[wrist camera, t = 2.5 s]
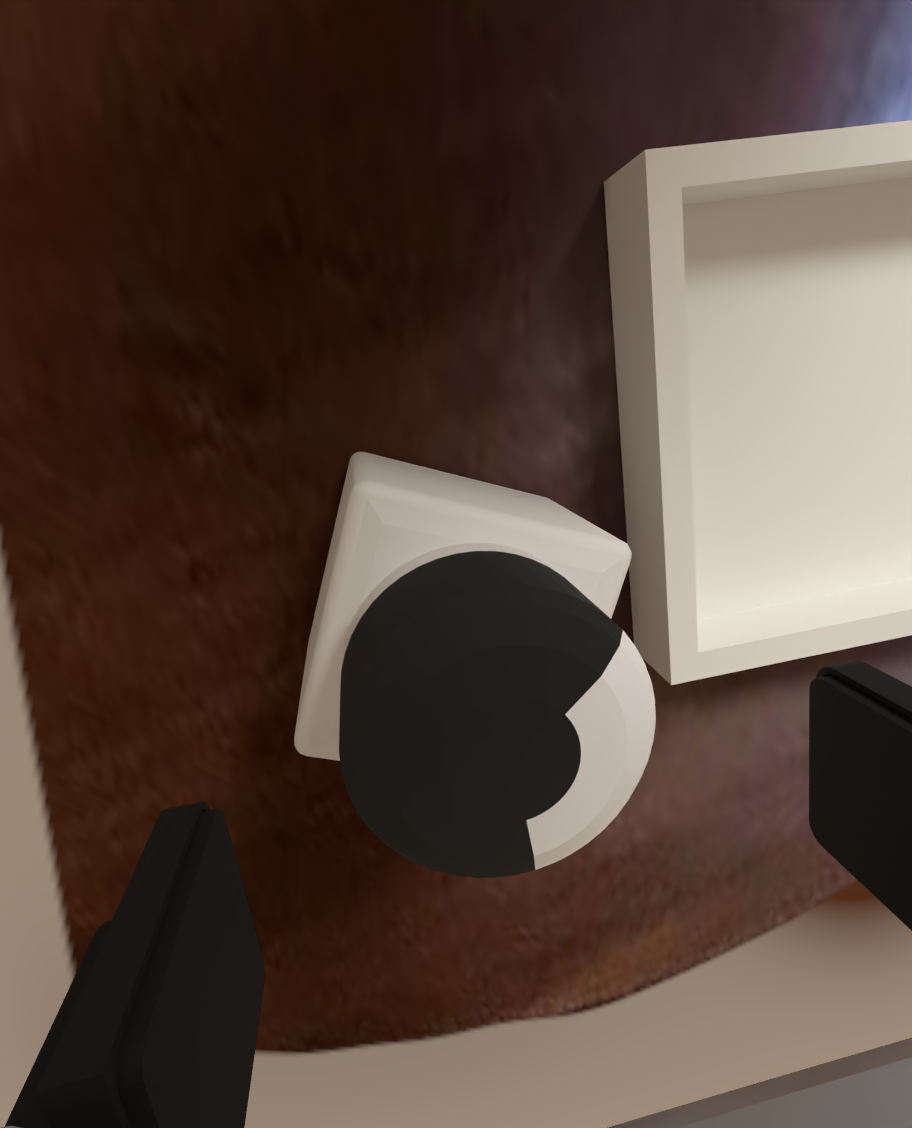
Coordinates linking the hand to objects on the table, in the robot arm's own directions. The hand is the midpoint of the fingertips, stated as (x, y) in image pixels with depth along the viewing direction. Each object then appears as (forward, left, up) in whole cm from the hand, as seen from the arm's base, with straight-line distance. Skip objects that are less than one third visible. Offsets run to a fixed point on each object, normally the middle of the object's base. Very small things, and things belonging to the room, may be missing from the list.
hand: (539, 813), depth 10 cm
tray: (-4, +17, -14) cm, 22 cm away
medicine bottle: (0, 0, -14) cm, 14 cm away
